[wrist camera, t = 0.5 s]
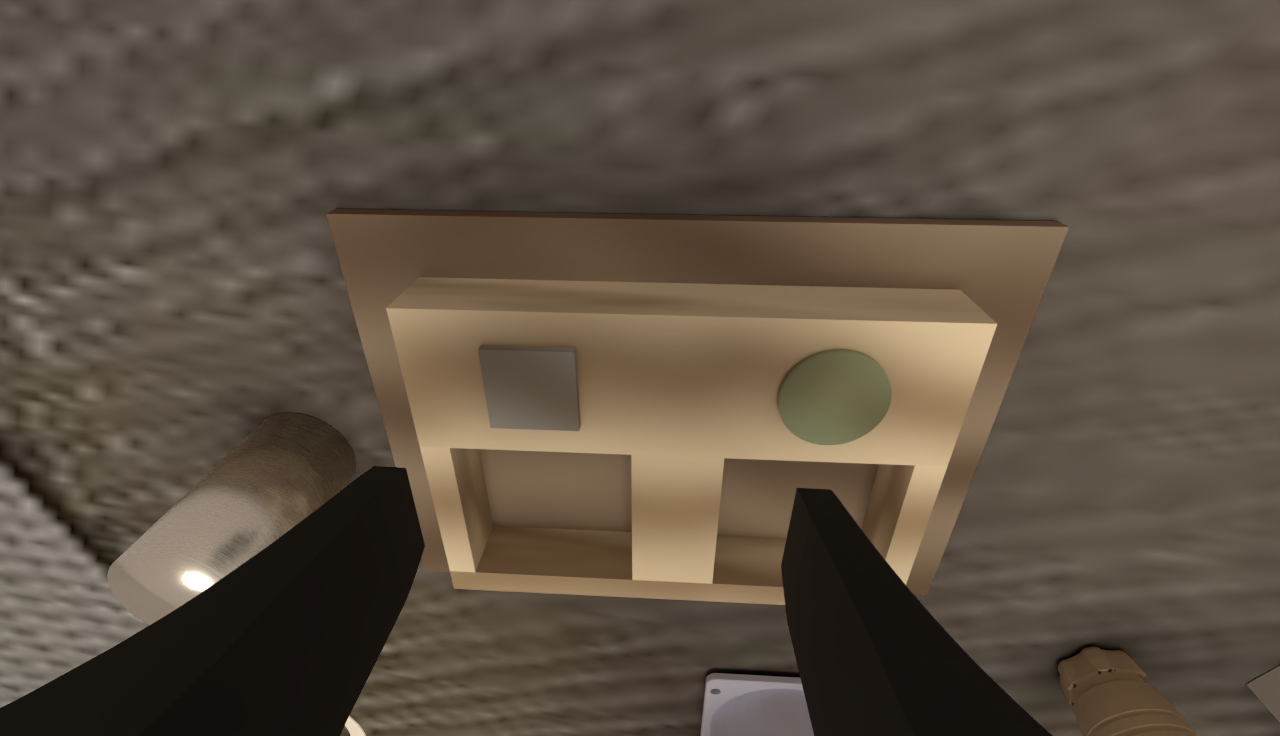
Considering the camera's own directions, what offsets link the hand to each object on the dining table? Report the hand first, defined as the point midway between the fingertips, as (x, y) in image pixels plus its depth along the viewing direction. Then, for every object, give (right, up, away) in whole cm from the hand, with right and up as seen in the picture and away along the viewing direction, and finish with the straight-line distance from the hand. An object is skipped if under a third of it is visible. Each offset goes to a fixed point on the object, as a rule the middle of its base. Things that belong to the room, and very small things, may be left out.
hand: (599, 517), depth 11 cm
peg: (-13, -1, +13) cm, 18 cm away
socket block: (+2, +1, +11) cm, 11 cm away
